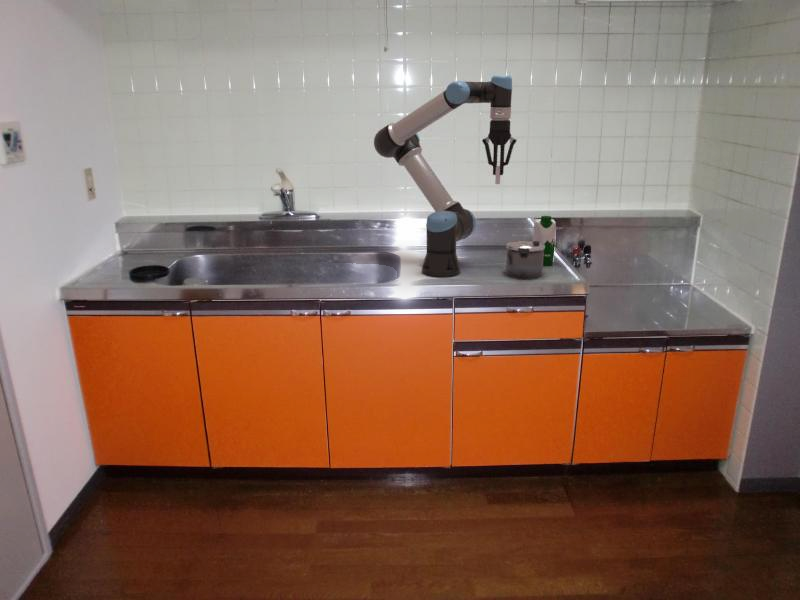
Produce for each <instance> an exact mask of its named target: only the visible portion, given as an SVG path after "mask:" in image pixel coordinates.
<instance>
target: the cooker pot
mask: <svg viewBox="0 0 800 600" xmlns="http://www.w3.org/2000/svg"><path fill="white" fill-rule="evenodd" d="M543 256H544V250H541V251H529V252H518V251H516V250H511V249H508V248H506V257H505V258H506V263H505V275H506V276H507V277H509V278H514V279H519V280H535V279H539V278H542V277H543V269H544V268H543V267H544V265H543Z"/></svg>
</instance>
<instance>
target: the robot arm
mask: <svg viewBox="0 0 800 600" xmlns="http://www.w3.org/2000/svg"><path fill="white" fill-rule="evenodd" d="M512 92H513V78H512V77H511V75H493V76H491V80H490V81H463V80H455V81H452V82H450V83H448V85H447V87H446V89H445V90H443V91H442V92H440V93H439V94H438V95H436V96H434V97H433V98H431V99H430V100H428V101H427V102H425V103H424V104H421V106H419V107H418V108H416V109H415V110H414V111H412V112H410V113H409V114H407V115H405V116H404V117H402V118H401V119H399V120H398V121H397V122H390V123H389V124H387V125H386V126H384V127H382V128H381V129H379V130H378V131H377V132H376V134H375V135H374V137H373V147H374V149H375V151H376V152H377V154H378V155H380V156H381V157H384V158H388V159H389V158H393V159H394V160H395V161H396V163H397V165H398V166H402V167H404V169H406V171H407V173H408V174H409V175H410V176H411V178H412V180H413V181H414V182H415V184H416V186H417V187H418V189H419V190H420V191H421V193H422V194H423V196H424V197H425V198H426V200H427V202H428V203H429V204H430V206H431V208H433V210H434V212H432V213H430V214H429V215H428V216H427V217H426V223H425V224H426V226H425V227H426V254H425V257H424V260H423V262H422V266H421V267H422V268H421V273H422V274H423V275H425V276H429V277H435V278H449V277H450V278H451V277H455V276H457V275H459V274H461V265H460V262H459V259H458V255H457V242H459V241H461V240H462V241H463V240H465V239H467V238H468V237H470V236H472V234H473V233H474V231H475V229H476V225H477V222H476V217H475V215H474V214H473V212H471V211H470V210H469V209H467V208H466V209H465V208H464V207H463V205H462V204H461V203H460V202H459V201H456V200H454V199H453V198H452V196H451V194H450V193H449V192H448V191H447V188H445V186H444V185H443V184H442V182H441V180H440V179H439V178H438V176H437V175H436V173H435V172H434V170H433V169H432V167H431V166H430V164H429V163H428V161H427V160H426V159H425V157H424V156H423V155H422V154H423V153H422V152H423V151H422V150H423V148H422V147H421V145H420V144H421V143H420V136H419V135H418V133H419V132H421V131H422V130H424V129H426V128H428V127H430V125H432V124H433V123H435V122H436V121H439V120H440V119H442V118H443V117H445V116H446V115H448V114H449V113H450V112H452V111H454V110H456V109H457V108H459V107H461V106H462V105H464V104H490V113H489V114H490V115H489V119H490V121H489V133H488V134H487V136H486V137H484V138H483V139H482V140H481V141H482V144H484V148H485V153H486V158H487V162H488V163H487V164H488V165H490V166H492V175H493V176H495V183H494V184H495V185H500V184H501V176H503V175H504V167H505V166H508V165H509V162H510V159H511V157H512V153H513V149H514V145H515V144H516V143H517V138H514V137H513V136H512V134H511V121H510V119H511V118H512V115H511V114H512V97H513V95H512V94H513V93H512ZM490 142H491V144H492V145H493V158H492V154H491V153H492V152H491V149H490V144H489V143H490ZM508 142H509V143H510V144H509V148H508V150H507V153H506V158H505V147H506V144H507V143H508ZM499 147H500V150H499V149H498V148H499ZM498 150H499V151H500V155H499V165H498ZM492 159H493V160H492Z"/></svg>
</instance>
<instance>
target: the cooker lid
mask: <svg viewBox="0 0 800 600" xmlns="http://www.w3.org/2000/svg"><path fill="white" fill-rule="evenodd" d="M505 247H506V249H507V248H508V249H511V250H516V251H518V252H529V251H541V250H544V249H545V245H544V244H542V243H539V241H533V240H532V241H529V240H528V241H527V240H517V241H515V240H514V241H509V242H507V243H506V246H505Z"/></svg>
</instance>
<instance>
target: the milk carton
mask: <svg viewBox="0 0 800 600" xmlns="http://www.w3.org/2000/svg"><path fill="white" fill-rule="evenodd" d="M556 227H557V222H556V221H555V219H553V218H552V216H550V215H541V217H540V218H535V219H534V223H533V229H532V230H533V232H532V233H533V234H532V242H533V241H539V243H542V244H544V245H545V249H544V256H543V266H553V261H554V256H555V248H556V247H555V244H556V229H557V228H556Z"/></svg>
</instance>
